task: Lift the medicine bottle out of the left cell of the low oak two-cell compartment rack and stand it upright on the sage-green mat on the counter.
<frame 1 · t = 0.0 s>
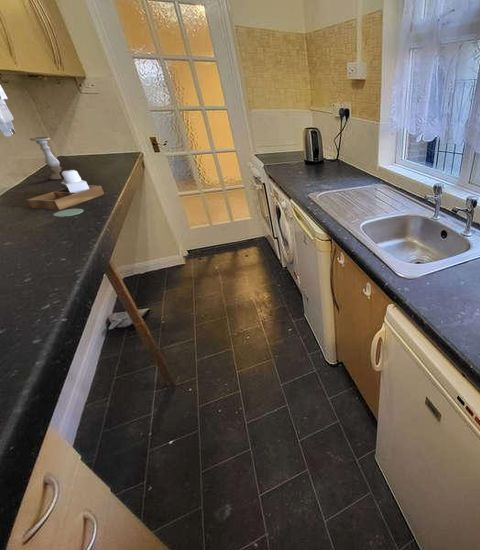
hand: (11, 135, 115), 26 cm above the worktop, tool pointing down, fingers open, 8 cm apart
candle holder: (60, 178, 163), on the worktop
medicine bottle: (81, 198, 134), resting in compartment rack
compartment rack: (70, 201, 129), on the worktop
mat: (68, 213, 117), on the worktop
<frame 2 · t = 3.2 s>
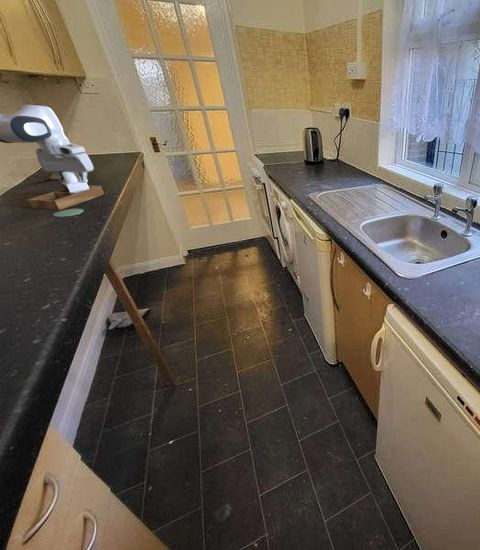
hand: (74, 182, 130), 7 cm above the worktop, tool pointing down
medicine bottle: (81, 198, 134), resting in compartment rack, touching gripper
everything else where it was.
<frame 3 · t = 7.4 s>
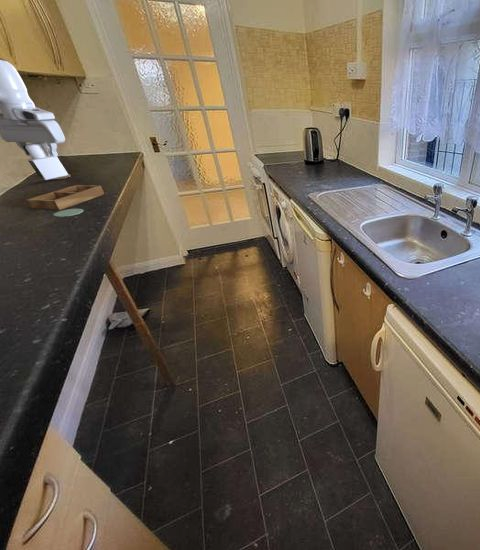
hand: (42, 155, 109), 21 cm above the worktop, tool pointing down, fingers closed on medicine bottle, 7 cm apart
medicine bottle: (55, 177, 114), point 13 cm above the worktop, touching gripper
everything else where it was.
when the fingers open (8 cm above the worktop, at t = 11.7 s): medicine bottle stays where it is, resting on mat.
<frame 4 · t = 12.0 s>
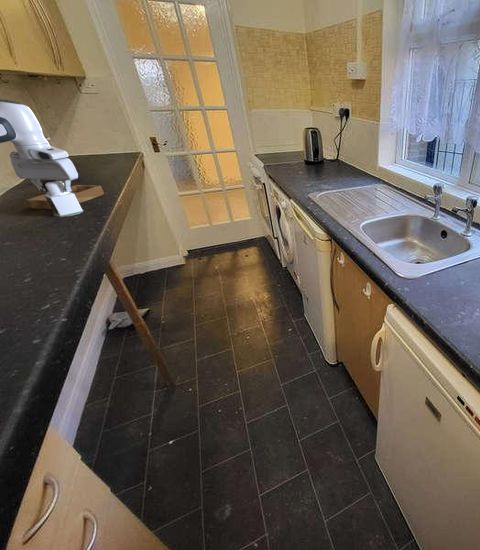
hand: (56, 191, 112), 9 cm above the worktop, tool pointing down, fingers open, 8 cm apart
medicine bottle: (68, 212, 117), resting on mat
everything else where it was.
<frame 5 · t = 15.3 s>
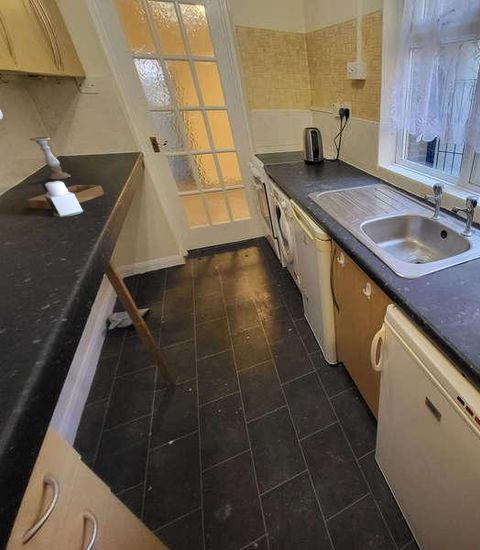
nothing on the worktop moved.
at the end: medicine bottle inside the target area (0.2 cm from its centre), resting on mat; medicine bottle tilted 0°; the gripper is holding nothing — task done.
